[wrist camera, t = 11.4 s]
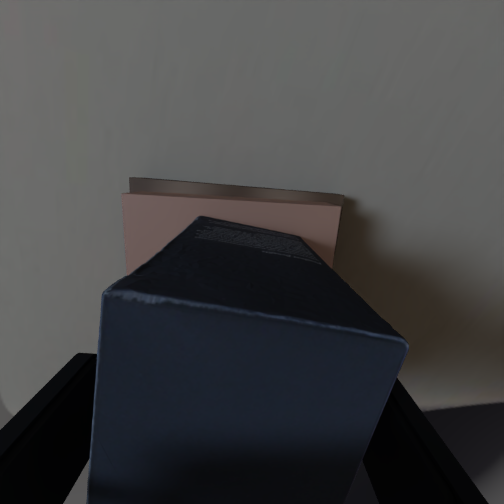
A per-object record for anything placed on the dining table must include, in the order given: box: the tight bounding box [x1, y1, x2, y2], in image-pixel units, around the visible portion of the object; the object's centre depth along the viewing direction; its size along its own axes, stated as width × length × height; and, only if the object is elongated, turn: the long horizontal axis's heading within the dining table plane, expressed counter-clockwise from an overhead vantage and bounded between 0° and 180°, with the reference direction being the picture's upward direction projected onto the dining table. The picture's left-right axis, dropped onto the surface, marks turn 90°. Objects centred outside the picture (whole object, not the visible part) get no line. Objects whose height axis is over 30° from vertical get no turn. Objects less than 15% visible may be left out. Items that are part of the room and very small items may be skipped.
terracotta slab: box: [122, 191, 341, 275], centre depth 17 cm, size 12×12×3 cm
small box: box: [86, 216, 409, 504], centre depth 11 cm, size 11×6×10 cm, turn 168°
